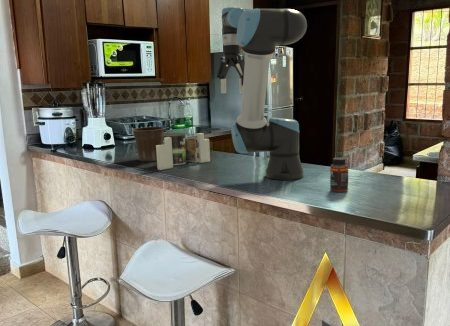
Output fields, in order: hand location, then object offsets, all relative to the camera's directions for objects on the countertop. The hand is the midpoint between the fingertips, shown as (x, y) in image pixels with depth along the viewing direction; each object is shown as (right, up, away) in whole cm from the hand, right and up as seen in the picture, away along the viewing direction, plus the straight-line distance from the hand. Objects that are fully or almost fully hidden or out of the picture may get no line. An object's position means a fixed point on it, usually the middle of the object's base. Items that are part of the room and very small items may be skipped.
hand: (232, 93), depth 190 cm
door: (-23, -30, +18) cm, 42 cm away
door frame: (-23, -33, +8) cm, 40 cm away
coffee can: (-27, -32, +13) cm, 44 cm away
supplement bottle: (+36, -41, -46) cm, 71 cm away
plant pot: (-42, -30, +26) cm, 58 cm away
